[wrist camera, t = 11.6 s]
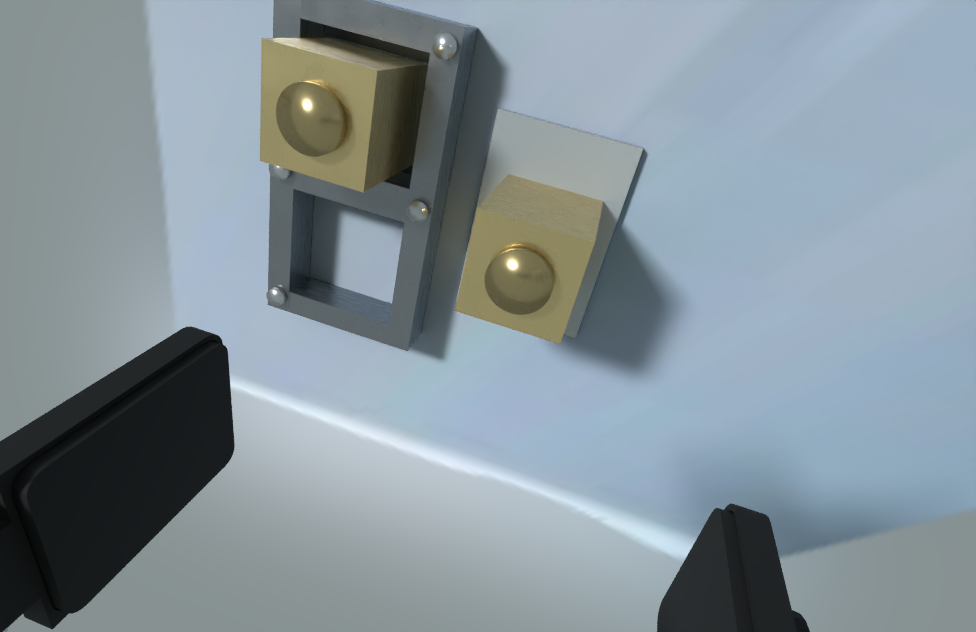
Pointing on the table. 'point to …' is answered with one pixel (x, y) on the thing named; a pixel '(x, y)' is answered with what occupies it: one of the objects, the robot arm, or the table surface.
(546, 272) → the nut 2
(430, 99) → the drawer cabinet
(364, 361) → the table surface
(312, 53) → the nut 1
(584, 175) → the mat
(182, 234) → the table surface
